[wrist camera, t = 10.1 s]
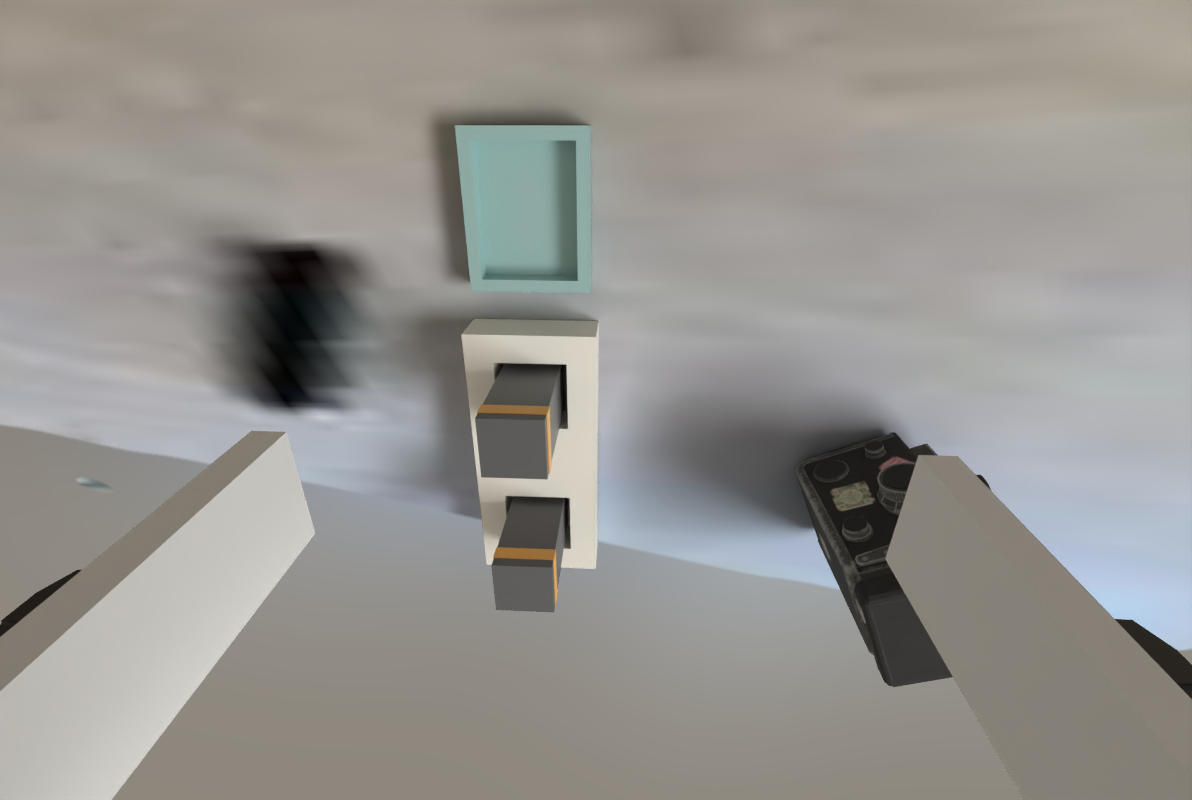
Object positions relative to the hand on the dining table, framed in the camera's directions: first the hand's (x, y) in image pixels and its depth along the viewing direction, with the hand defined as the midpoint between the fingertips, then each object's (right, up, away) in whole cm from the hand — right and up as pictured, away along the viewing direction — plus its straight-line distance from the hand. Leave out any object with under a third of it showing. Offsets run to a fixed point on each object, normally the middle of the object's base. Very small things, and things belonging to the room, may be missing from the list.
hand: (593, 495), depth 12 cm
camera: (+22, -4, +32) cm, 39 cm away
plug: (-4, +4, +29) cm, 30 cm away
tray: (-4, +15, +25) cm, 29 cm away
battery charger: (-4, -1, +32) cm, 33 cm away
